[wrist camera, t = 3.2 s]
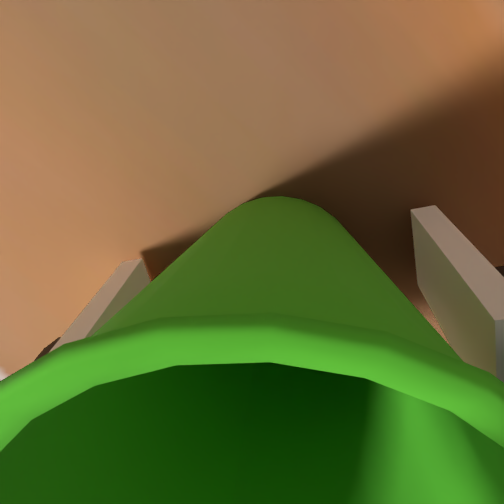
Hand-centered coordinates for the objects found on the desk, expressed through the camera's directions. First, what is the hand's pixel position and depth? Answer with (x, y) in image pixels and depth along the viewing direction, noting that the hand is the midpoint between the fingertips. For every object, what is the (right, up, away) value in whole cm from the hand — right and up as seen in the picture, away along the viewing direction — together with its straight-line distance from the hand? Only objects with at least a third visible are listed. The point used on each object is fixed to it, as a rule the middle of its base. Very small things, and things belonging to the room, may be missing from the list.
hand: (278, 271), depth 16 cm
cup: (0, 0, +1) cm, 1 cm away
